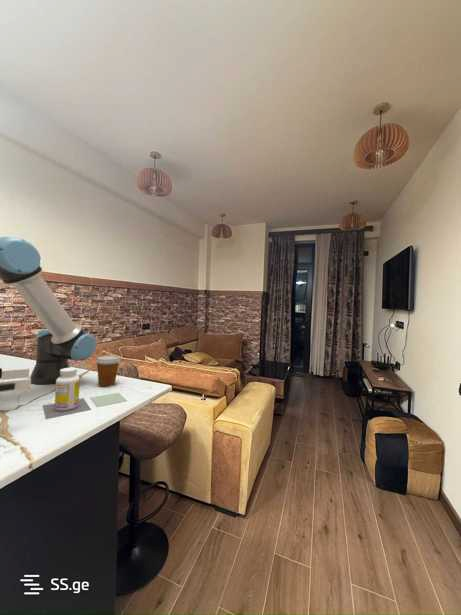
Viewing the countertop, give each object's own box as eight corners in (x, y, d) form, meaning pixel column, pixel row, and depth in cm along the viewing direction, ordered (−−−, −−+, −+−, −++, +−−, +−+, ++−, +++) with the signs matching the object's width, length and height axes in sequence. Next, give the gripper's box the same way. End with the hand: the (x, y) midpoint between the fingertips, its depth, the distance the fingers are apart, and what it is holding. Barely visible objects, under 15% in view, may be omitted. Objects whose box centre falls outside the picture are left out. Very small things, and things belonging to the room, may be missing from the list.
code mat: (42, 405, 81) (42, 405, 81) (83, 398, 89) (83, 398, 89) (45, 419, 72) (45, 418, 72) (90, 409, 80) (90, 409, 80)
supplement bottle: (74, 401, 85) (76, 365, 85) (81, 407, 81) (83, 369, 81) (51, 407, 80) (53, 368, 80) (57, 413, 76) (60, 372, 76)
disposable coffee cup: (108, 389, 99) (110, 360, 100) (89, 386, 101) (90, 358, 101) (123, 382, 109) (124, 356, 109) (105, 380, 111) (106, 354, 111)
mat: (90, 398, 89) (90, 397, 89) (118, 392, 96) (118, 392, 96) (96, 407, 82) (96, 406, 82) (126, 400, 89) (126, 400, 89)
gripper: (-69, 390, 69) (27, 379, 83) (-102, 423, 50) (30, 402, 64) (-67, 364, 69) (29, 358, 83) (-99, 388, 50) (32, 375, 64)
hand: (29, 377), depth 74 cm, fingers open, 13 cm apart
